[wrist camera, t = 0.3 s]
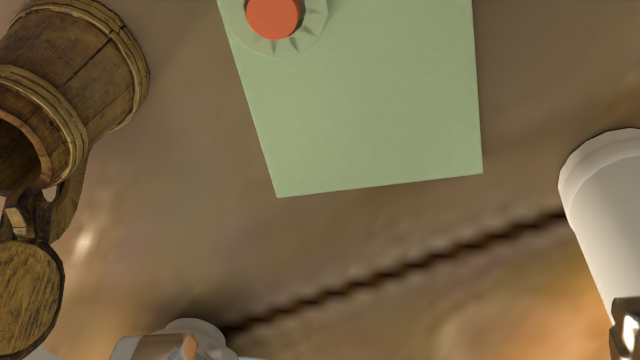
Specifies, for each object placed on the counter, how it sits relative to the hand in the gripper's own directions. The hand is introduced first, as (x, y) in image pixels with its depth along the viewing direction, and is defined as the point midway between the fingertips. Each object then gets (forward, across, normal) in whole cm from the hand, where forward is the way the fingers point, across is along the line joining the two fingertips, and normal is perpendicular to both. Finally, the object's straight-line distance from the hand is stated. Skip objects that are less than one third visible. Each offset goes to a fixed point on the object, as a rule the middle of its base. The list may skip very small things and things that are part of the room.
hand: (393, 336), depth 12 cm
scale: (+27, +3, +6) cm, 28 cm away
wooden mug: (+27, +21, +5) cm, 35 cm away
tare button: (+24, +6, 0) cm, 25 cm away
